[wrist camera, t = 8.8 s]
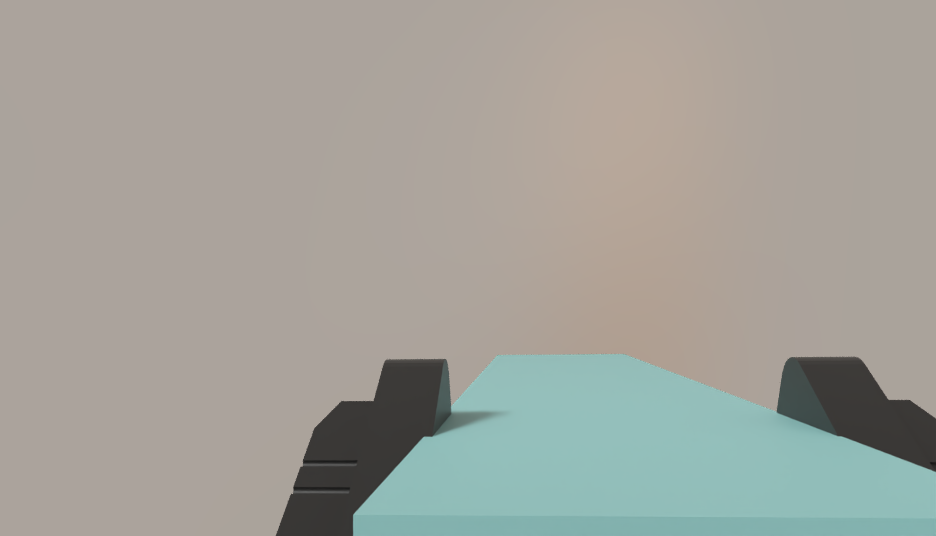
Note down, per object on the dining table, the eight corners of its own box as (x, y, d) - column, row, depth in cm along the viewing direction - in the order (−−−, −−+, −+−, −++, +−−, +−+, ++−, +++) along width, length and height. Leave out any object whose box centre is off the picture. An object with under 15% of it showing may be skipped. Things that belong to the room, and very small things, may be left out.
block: (1091, 1089, 4) (1060, 518, 5) (354, 1049, 5) (353, 515, 5) (626, 450, 26) (623, 353, 27) (498, 449, 27) (497, 355, 27)
